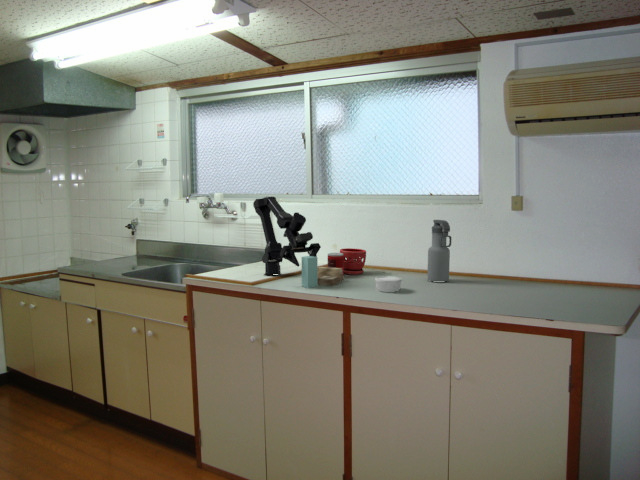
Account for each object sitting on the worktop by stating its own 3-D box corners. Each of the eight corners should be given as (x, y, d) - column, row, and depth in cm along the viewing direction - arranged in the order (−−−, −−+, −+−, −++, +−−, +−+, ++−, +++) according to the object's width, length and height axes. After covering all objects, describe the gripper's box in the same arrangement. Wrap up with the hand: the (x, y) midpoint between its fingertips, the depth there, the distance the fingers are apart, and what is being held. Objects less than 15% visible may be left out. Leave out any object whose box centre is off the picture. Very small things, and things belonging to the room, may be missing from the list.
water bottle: (454, 281, 244) (455, 220, 241) (436, 283, 240) (438, 221, 236) (439, 278, 253) (441, 219, 250) (423, 279, 249) (424, 219, 245)
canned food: (343, 275, 261) (344, 252, 260) (343, 278, 254) (343, 255, 252) (328, 274, 262) (328, 252, 261) (326, 277, 254) (326, 254, 253)
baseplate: (304, 283, 241) (304, 277, 240) (316, 277, 254) (316, 272, 253) (333, 285, 235) (333, 279, 235) (344, 280, 248) (344, 274, 248)
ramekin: (386, 286, 233) (386, 274, 233) (406, 290, 226) (407, 278, 225) (369, 290, 226) (369, 278, 225) (390, 294, 218) (390, 281, 217)
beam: (315, 274, 250) (315, 267, 249) (317, 272, 253) (317, 266, 252) (339, 275, 245) (339, 269, 245) (341, 274, 248) (341, 268, 248)
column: (301, 286, 235) (301, 256, 233) (311, 284, 237) (311, 255, 236) (307, 287, 230) (307, 258, 229) (317, 286, 233) (317, 257, 232)
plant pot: (348, 276, 257) (349, 252, 256) (334, 272, 269) (334, 248, 267) (371, 274, 264) (371, 250, 262) (356, 270, 275) (356, 247, 274)
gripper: (282, 227, 232) (296, 255, 224) (318, 225, 242) (332, 251, 234) (274, 243, 239) (286, 271, 231) (309, 241, 249) (322, 267, 241)
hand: (307, 265), depth 234 cm, fingers open, 9 cm apart
